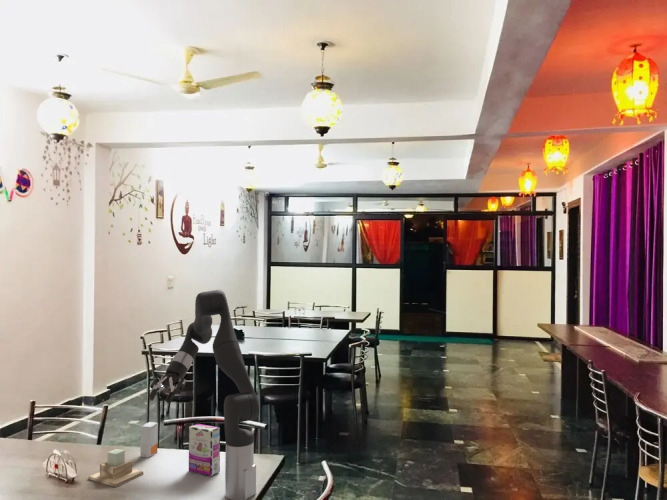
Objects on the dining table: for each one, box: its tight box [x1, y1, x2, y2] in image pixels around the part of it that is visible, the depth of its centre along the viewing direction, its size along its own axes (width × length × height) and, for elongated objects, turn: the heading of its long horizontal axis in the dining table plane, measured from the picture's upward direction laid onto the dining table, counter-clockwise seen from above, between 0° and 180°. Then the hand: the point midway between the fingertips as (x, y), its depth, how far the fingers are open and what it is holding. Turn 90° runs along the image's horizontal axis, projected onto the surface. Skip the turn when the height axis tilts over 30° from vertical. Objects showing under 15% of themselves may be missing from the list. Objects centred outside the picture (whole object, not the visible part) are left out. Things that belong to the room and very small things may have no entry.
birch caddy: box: [87, 460, 144, 488], centre depth 187 cm, size 14×12×5 cm
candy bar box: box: [188, 423, 221, 477], centre depth 192 cm, size 11×5×16 cm, turn 62°
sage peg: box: [107, 448, 126, 467], centre depth 188 cm, size 4×4×8 cm
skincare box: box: [139, 421, 159, 458], centre depth 209 cm, size 6×4×12 cm
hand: (158, 400), depth 200 cm, fingers open, 8 cm apart
